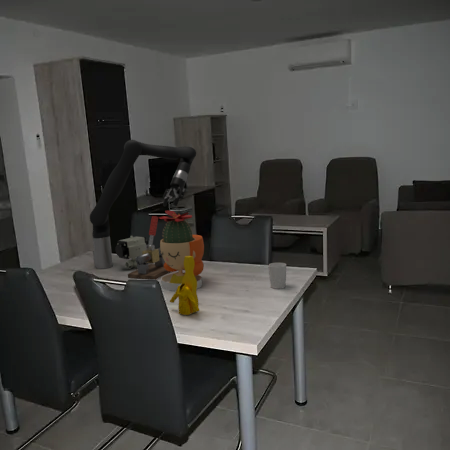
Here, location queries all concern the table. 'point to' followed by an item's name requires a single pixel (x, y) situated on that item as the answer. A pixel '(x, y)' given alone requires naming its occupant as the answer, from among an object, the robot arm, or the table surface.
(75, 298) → the table surface
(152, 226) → the valve lever
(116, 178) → the robot arm
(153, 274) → the valve stand base
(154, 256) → the valve pipe
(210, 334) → the table surface
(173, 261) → the potted cactus
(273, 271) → the white cup
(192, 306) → the figure statuette
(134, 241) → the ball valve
